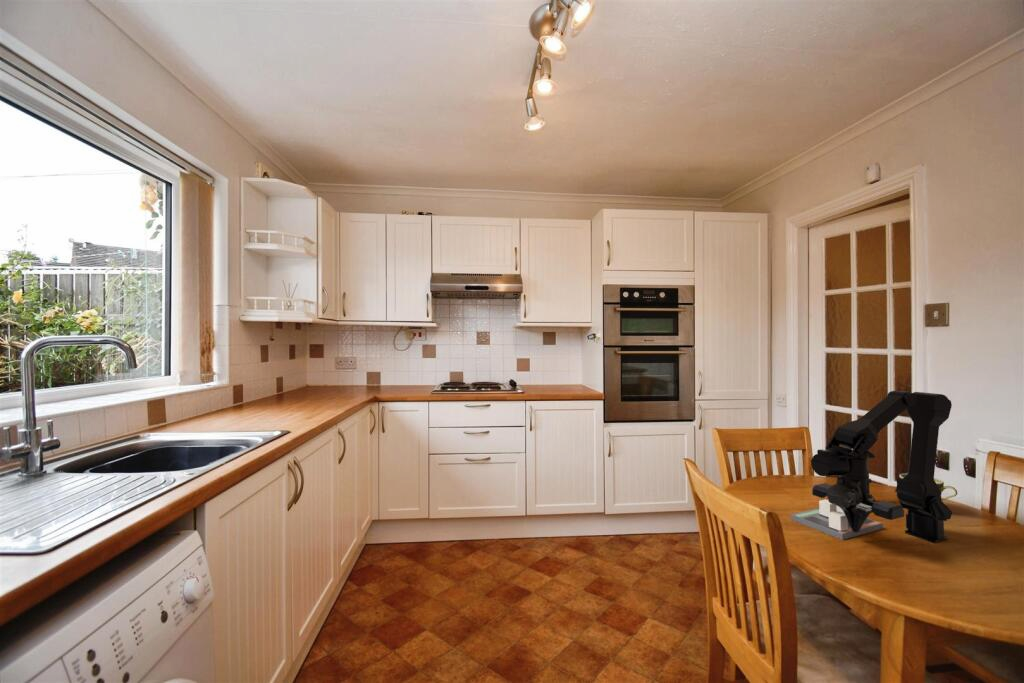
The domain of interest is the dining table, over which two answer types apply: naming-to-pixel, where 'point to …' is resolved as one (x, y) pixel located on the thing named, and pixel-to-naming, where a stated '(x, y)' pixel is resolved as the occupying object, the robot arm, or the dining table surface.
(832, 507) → the handle
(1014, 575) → the dining table surface
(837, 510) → the white block
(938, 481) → the ceramic cup
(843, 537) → the breaker panel
